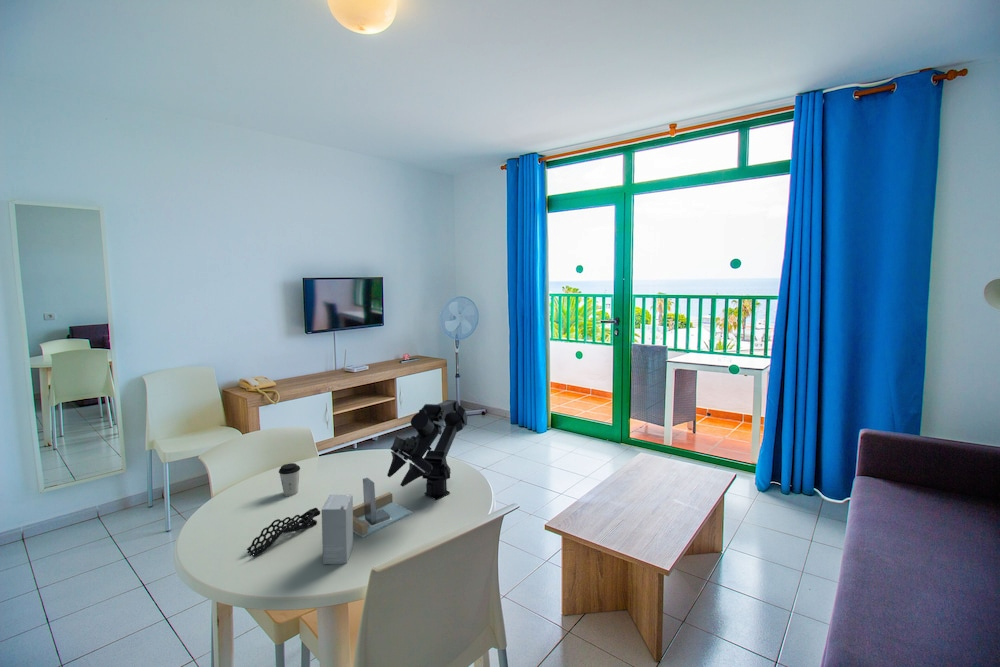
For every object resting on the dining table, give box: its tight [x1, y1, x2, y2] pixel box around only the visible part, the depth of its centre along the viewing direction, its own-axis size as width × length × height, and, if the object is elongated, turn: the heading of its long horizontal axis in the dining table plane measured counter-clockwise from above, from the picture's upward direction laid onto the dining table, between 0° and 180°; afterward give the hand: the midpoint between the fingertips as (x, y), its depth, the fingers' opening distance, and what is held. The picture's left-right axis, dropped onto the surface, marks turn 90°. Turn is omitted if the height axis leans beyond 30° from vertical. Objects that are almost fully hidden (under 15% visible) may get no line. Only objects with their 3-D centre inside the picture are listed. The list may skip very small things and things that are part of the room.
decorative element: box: [246, 507, 321, 558], centre depth 135 cm, size 22×5×6 cm, turn 151°
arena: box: [353, 491, 413, 538], centre depth 144 cm, size 18×12×4 cm, turn 139°
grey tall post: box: [362, 477, 390, 525], centre depth 142 cm, size 6×5×13 cm
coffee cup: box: [278, 462, 301, 497], centre depth 163 cm, size 7×7×10 cm
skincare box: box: [321, 493, 354, 565], centre depth 124 cm, size 8×7×16 cm
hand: (394, 481), depth 146 cm, fingers open, 9 cm apart
